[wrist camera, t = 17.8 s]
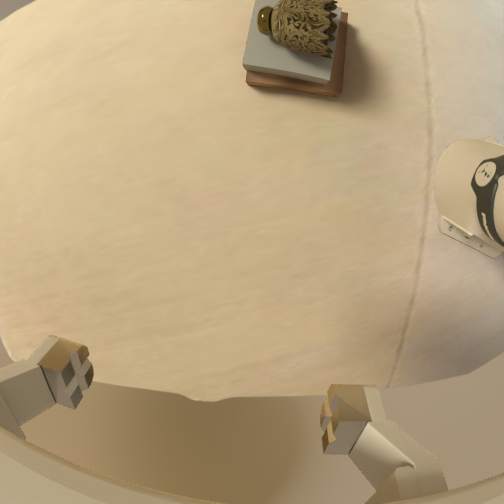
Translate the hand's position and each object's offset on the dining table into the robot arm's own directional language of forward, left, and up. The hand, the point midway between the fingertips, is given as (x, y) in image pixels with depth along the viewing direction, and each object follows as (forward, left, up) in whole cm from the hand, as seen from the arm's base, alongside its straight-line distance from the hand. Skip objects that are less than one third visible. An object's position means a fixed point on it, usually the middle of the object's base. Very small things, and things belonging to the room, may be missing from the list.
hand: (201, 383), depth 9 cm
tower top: (+6, -19, -34) cm, 39 cm away
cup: (+9, -18, -28) cm, 34 cm away
